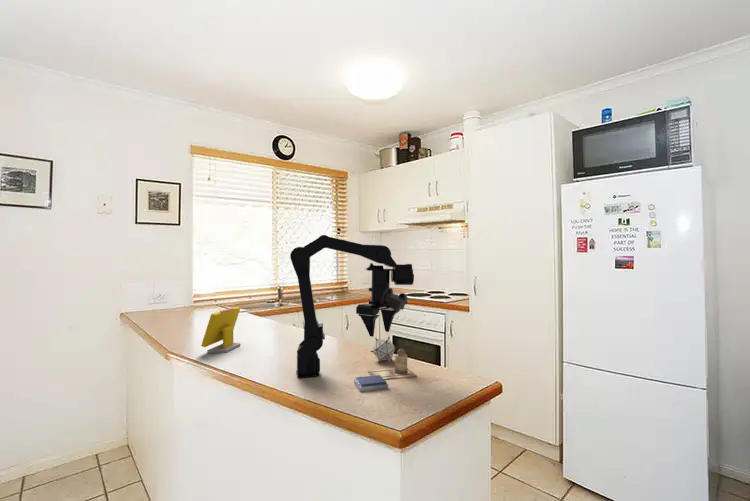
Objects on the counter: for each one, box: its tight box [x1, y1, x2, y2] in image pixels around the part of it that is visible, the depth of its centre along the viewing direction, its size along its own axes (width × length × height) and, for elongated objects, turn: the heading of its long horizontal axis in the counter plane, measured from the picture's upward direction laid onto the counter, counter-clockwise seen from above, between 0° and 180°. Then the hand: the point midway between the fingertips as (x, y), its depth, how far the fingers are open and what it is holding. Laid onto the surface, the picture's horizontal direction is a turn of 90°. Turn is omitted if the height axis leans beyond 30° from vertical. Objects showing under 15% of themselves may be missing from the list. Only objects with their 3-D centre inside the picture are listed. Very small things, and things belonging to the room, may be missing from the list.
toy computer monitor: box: [201, 306, 241, 354], centre depth 153 cm, size 20×8×16 cm, turn 172°
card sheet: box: [367, 367, 418, 381], centre depth 119 cm, size 13×9×1 cm
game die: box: [370, 336, 399, 363], centre depth 134 cm, size 9×8×10 cm
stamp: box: [394, 348, 409, 374], centre depth 120 cm, size 4×4×7 cm
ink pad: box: [353, 375, 389, 392], centre depth 109 cm, size 8×7×2 cm
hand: (379, 334), depth 123 cm, fingers open, 9 cm apart
